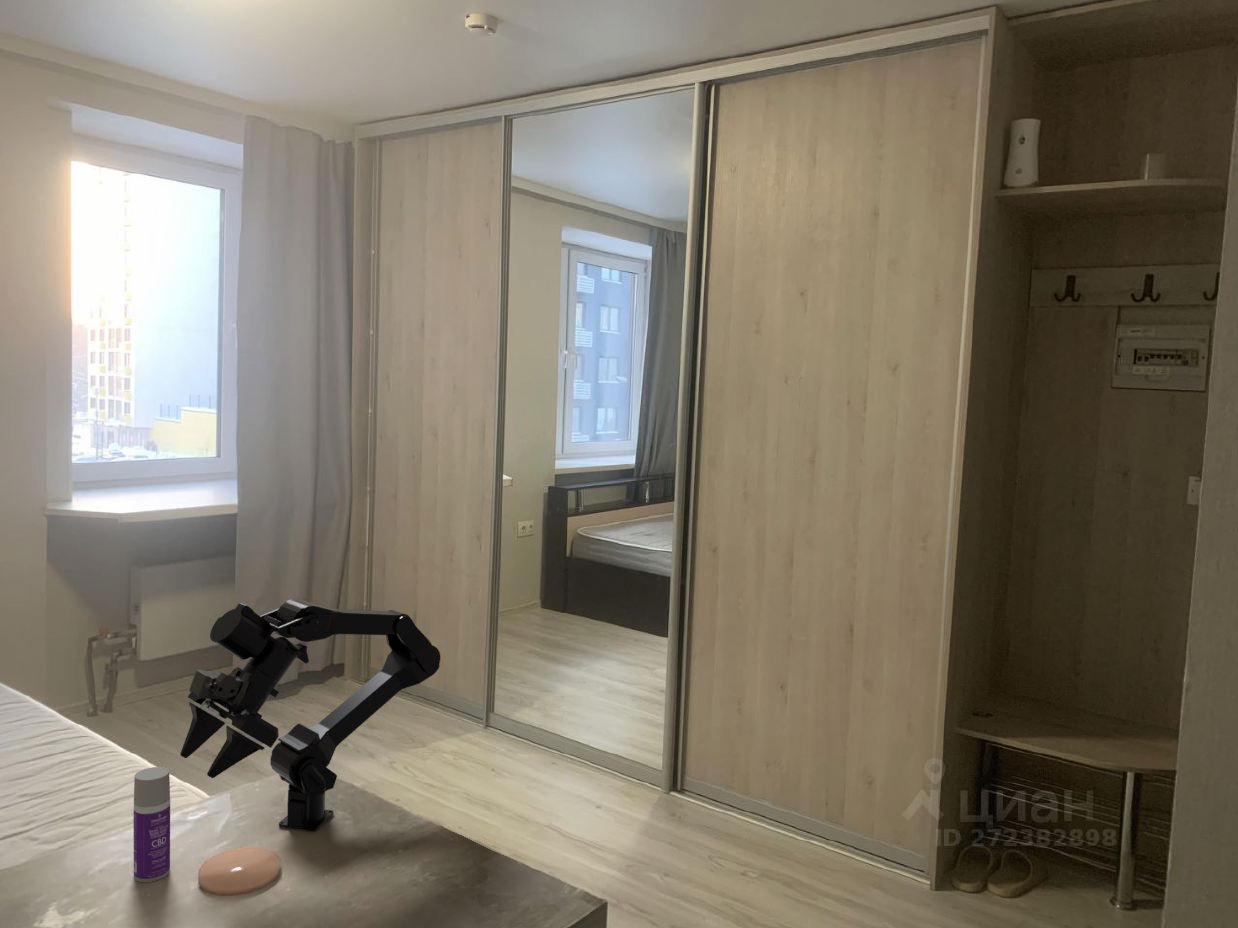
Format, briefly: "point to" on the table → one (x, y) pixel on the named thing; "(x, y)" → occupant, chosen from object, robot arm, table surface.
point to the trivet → (239, 871)
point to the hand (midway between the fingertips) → (195, 766)
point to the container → (151, 824)
